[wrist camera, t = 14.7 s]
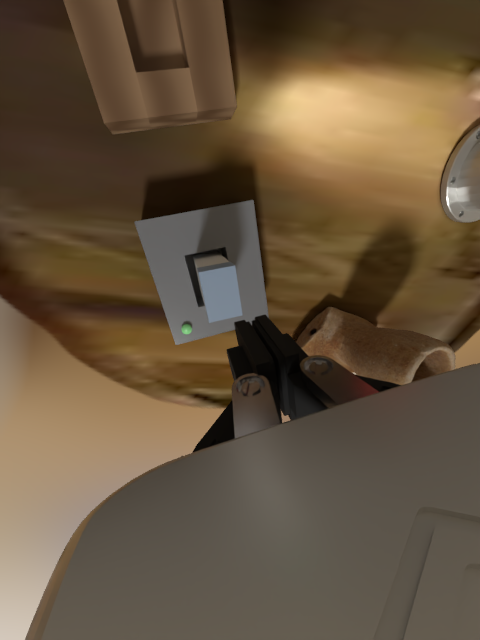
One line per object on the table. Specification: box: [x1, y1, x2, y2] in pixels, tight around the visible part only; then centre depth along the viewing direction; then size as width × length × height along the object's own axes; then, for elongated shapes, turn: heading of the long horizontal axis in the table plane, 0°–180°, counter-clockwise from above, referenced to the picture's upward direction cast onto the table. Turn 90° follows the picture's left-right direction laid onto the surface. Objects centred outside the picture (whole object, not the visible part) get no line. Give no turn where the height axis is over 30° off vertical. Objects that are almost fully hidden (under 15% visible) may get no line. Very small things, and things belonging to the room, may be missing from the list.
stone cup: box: [296, 307, 455, 385], centre depth 33 cm, size 15×12×15 cm
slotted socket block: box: [64, 0, 237, 134], centre depth 20 cm, size 12×12×3 cm
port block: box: [135, 200, 269, 345], centre depth 28 cm, size 12×14×5 cm
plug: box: [193, 251, 242, 323], centre depth 25 cm, size 3×5×11 cm
